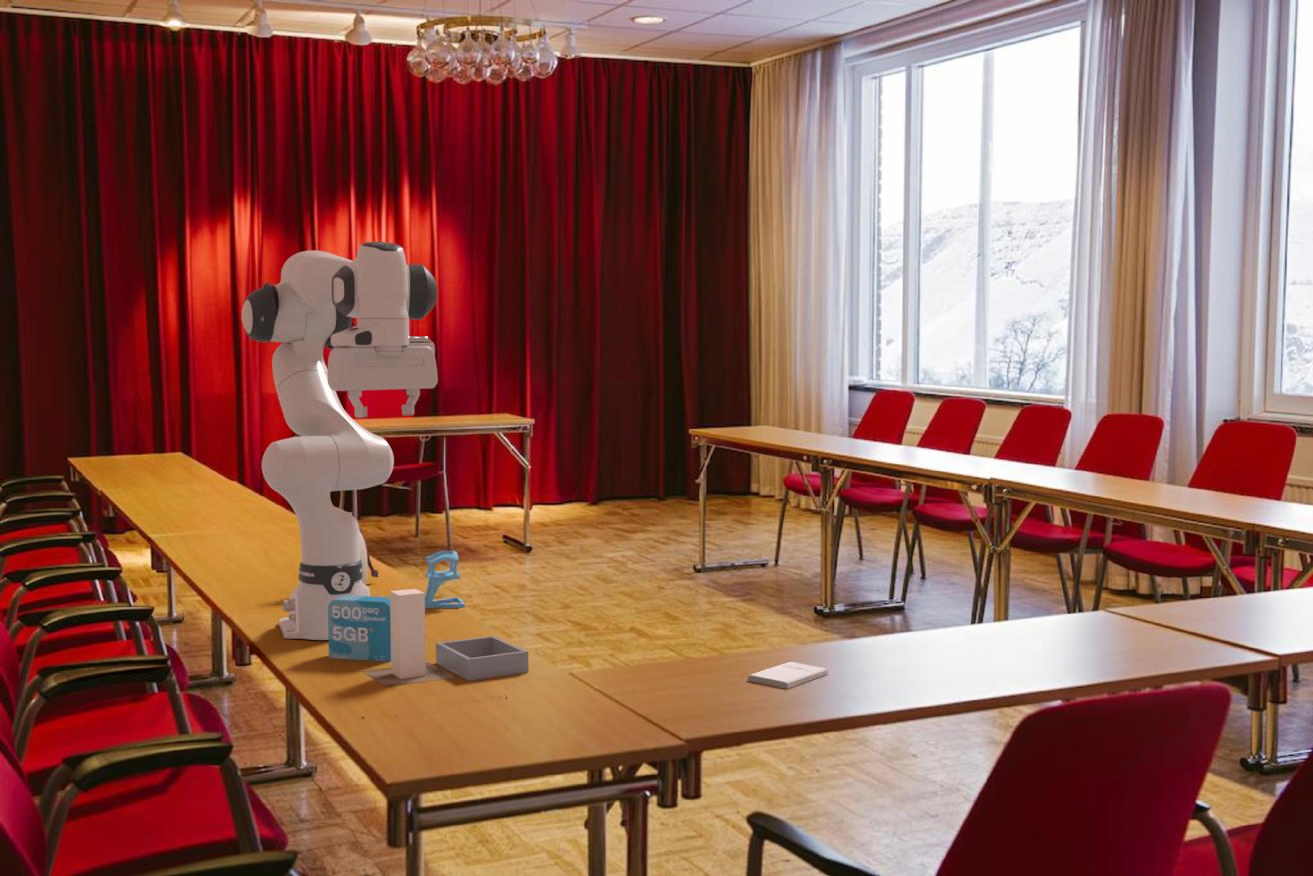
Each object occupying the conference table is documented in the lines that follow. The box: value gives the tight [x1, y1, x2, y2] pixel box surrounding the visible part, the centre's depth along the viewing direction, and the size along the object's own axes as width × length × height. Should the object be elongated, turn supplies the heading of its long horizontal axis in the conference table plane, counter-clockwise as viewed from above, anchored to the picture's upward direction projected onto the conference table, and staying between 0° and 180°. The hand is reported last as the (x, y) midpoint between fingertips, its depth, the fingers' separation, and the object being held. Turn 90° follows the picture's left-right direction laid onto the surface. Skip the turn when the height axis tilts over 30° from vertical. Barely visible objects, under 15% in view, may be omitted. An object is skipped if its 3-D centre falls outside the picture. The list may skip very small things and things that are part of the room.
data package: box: [327, 595, 391, 662], centre depth 240 cm, size 12×4×12 cm, turn 77°
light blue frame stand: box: [425, 549, 466, 609], centre depth 292 cm, size 8×8×12 cm
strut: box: [389, 588, 426, 679], centre depth 227 cm, size 4×4×14 cm
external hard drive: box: [747, 661, 829, 690], centre depth 232 cm, size 2×8×12 cm
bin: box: [435, 635, 529, 682], centre depth 232 cm, size 14×11×5 cm
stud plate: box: [362, 662, 456, 688], centre depth 228 cm, size 12×12×4 cm
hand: (384, 416), depth 234 cm, fingers open, 8 cm apart
